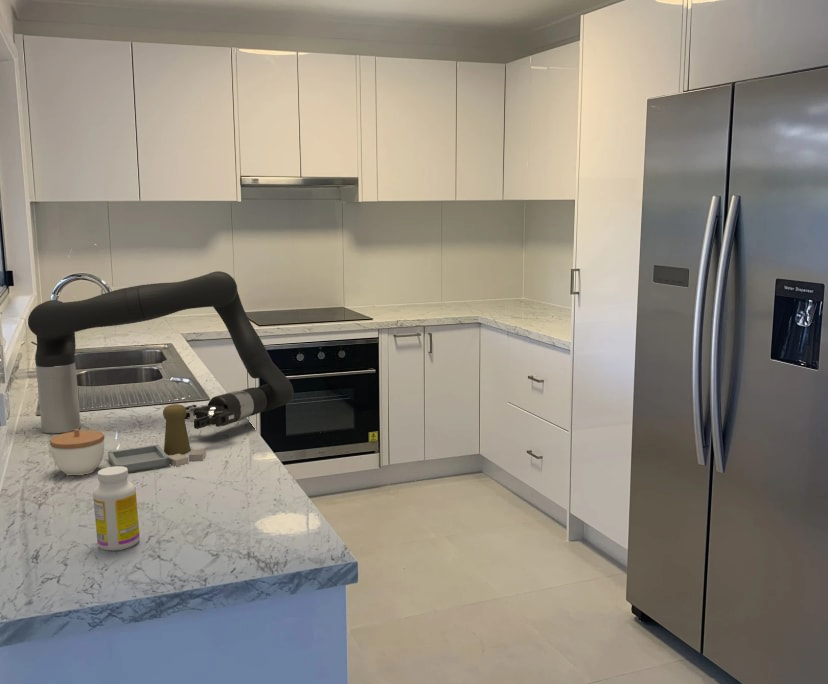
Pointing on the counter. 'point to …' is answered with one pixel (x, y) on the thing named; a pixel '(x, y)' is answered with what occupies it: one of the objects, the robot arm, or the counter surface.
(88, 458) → the lidded jar
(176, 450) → the pepper mill
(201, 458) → the beige rectangular block
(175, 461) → the tan block
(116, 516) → the supplement bottle
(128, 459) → the parts tray
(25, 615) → the counter surface
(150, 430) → the counter surface
